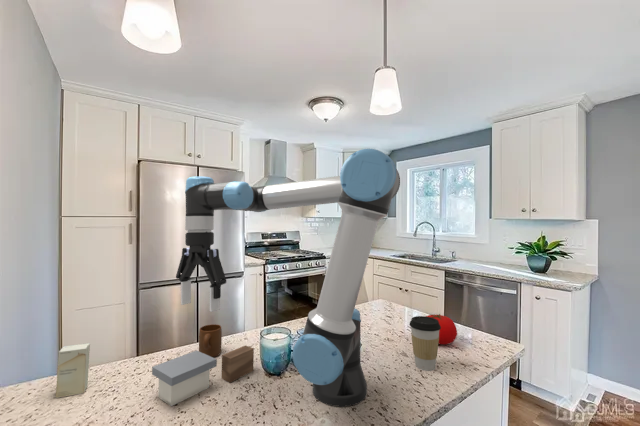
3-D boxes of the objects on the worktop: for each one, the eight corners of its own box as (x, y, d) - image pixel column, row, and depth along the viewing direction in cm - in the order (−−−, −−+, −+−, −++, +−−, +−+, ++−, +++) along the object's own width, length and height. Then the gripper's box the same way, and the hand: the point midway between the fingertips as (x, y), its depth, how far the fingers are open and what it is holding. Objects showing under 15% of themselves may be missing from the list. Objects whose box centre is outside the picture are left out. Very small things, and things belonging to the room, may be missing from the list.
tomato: (464, 344, 117) (464, 317, 117) (445, 352, 110) (444, 323, 110) (432, 333, 129) (432, 308, 129) (413, 339, 122) (412, 313, 122)
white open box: (209, 387, 85) (209, 365, 86) (171, 406, 77) (171, 382, 77) (196, 380, 89) (196, 359, 89) (158, 397, 80) (158, 374, 81)
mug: (217, 364, 100) (217, 335, 100) (192, 365, 98) (193, 336, 99) (222, 349, 111) (223, 323, 112) (201, 350, 110) (201, 324, 110)
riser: (253, 370, 95) (253, 348, 95) (229, 382, 88) (230, 358, 88) (245, 367, 98) (245, 345, 98) (221, 378, 90) (221, 355, 90)
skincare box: (55, 399, 80) (56, 352, 80) (61, 390, 84) (62, 346, 84) (84, 393, 82) (86, 348, 83) (89, 385, 86) (90, 342, 87)
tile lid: (216, 366, 85) (216, 359, 86) (171, 386, 75) (171, 378, 75) (196, 357, 91) (196, 350, 91) (152, 374, 81) (152, 366, 81)
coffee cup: (442, 363, 101) (441, 317, 102) (440, 376, 92) (440, 326, 93) (411, 357, 105) (411, 314, 106) (407, 369, 96) (407, 322, 97)
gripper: (239, 231, 82) (239, 310, 81) (187, 231, 96) (186, 298, 95) (216, 231, 75) (216, 317, 75) (163, 231, 90) (163, 303, 89)
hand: (199, 307), depth 85 cm, fingers open, 13 cm apart
